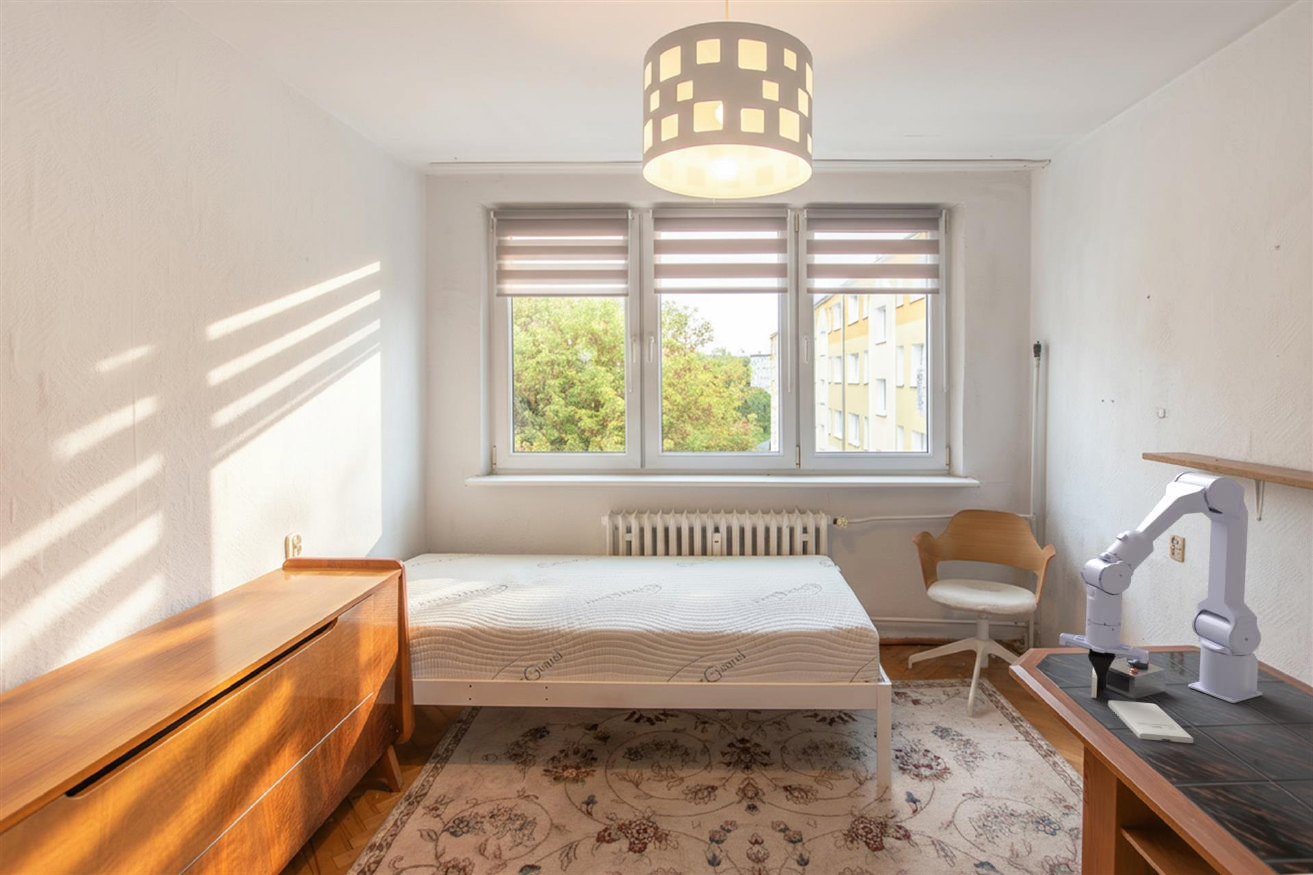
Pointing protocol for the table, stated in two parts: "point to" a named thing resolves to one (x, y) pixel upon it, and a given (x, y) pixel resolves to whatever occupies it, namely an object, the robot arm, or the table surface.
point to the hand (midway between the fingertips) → (1101, 688)
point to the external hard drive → (1149, 721)
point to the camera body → (1135, 678)
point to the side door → (1094, 684)
